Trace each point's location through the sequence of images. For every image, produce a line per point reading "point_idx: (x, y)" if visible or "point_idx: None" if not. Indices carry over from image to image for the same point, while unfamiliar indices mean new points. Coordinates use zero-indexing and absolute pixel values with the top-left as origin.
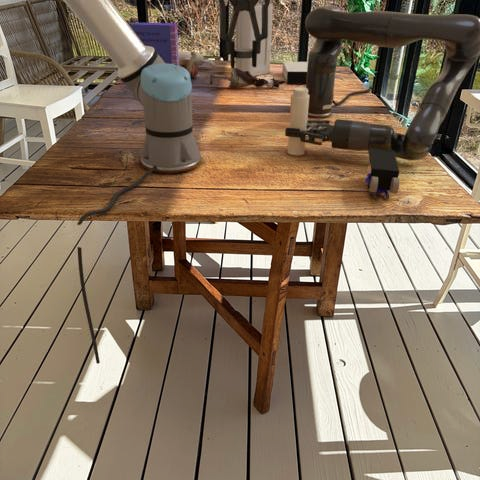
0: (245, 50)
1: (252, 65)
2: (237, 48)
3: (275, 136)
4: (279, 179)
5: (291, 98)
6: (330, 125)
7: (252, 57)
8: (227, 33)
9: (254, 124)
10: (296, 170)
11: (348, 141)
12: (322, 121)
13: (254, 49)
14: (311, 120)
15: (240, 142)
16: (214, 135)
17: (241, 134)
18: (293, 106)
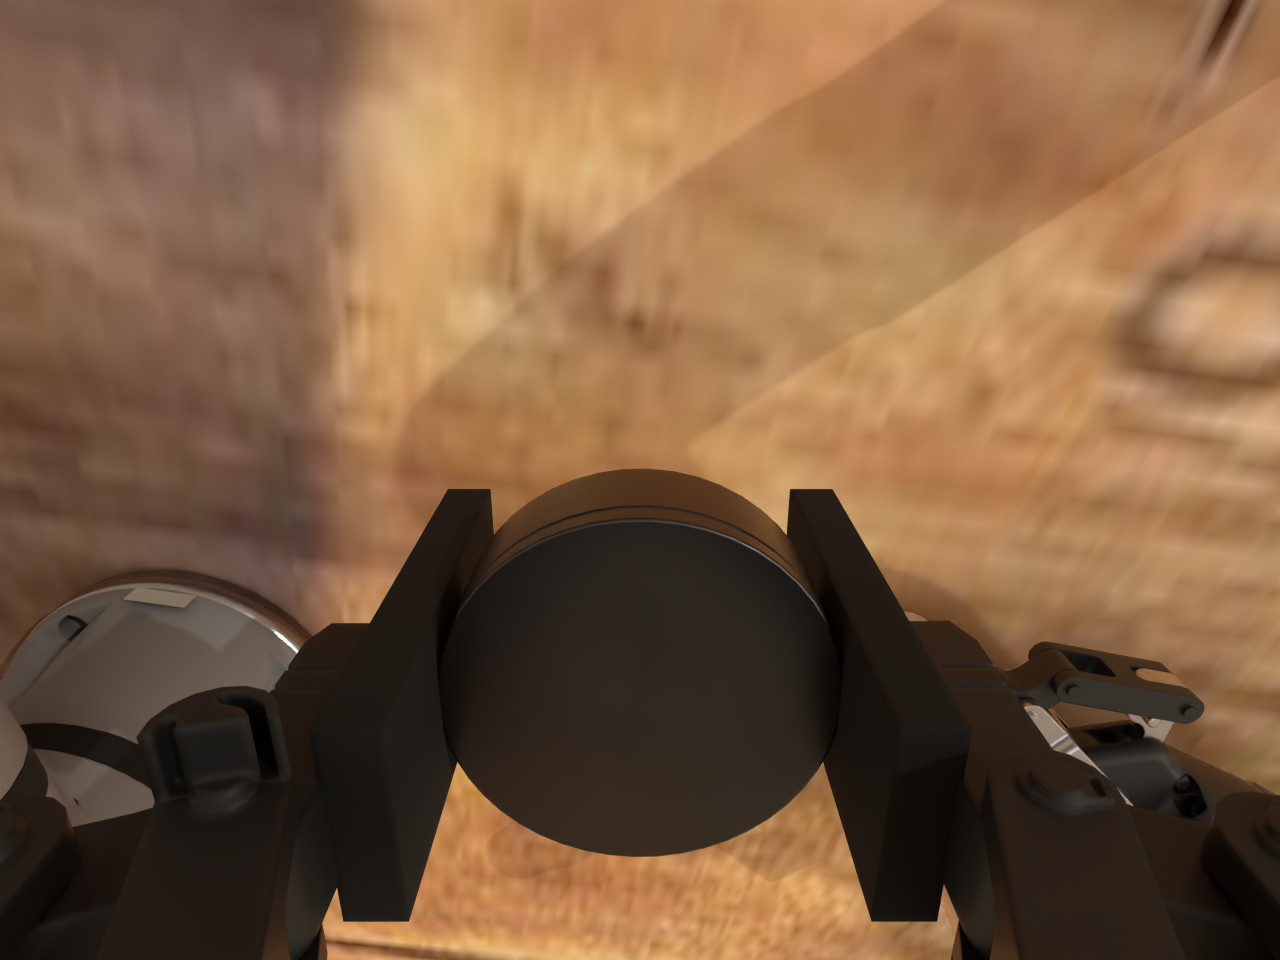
0: (664, 770)
1: (788, 533)
2: (533, 559)
3: (871, 371)
4: (699, 911)
5: (956, 925)
6: (1161, 778)
7: (812, 578)
8: (122, 911)
9: (798, 43)
10: (805, 844)
11: None
12: (1155, 708)
13: (841, 799)
14: (1090, 682)
15: (604, 456)
16: (436, 292)
17: (638, 296)
18: (942, 904)
